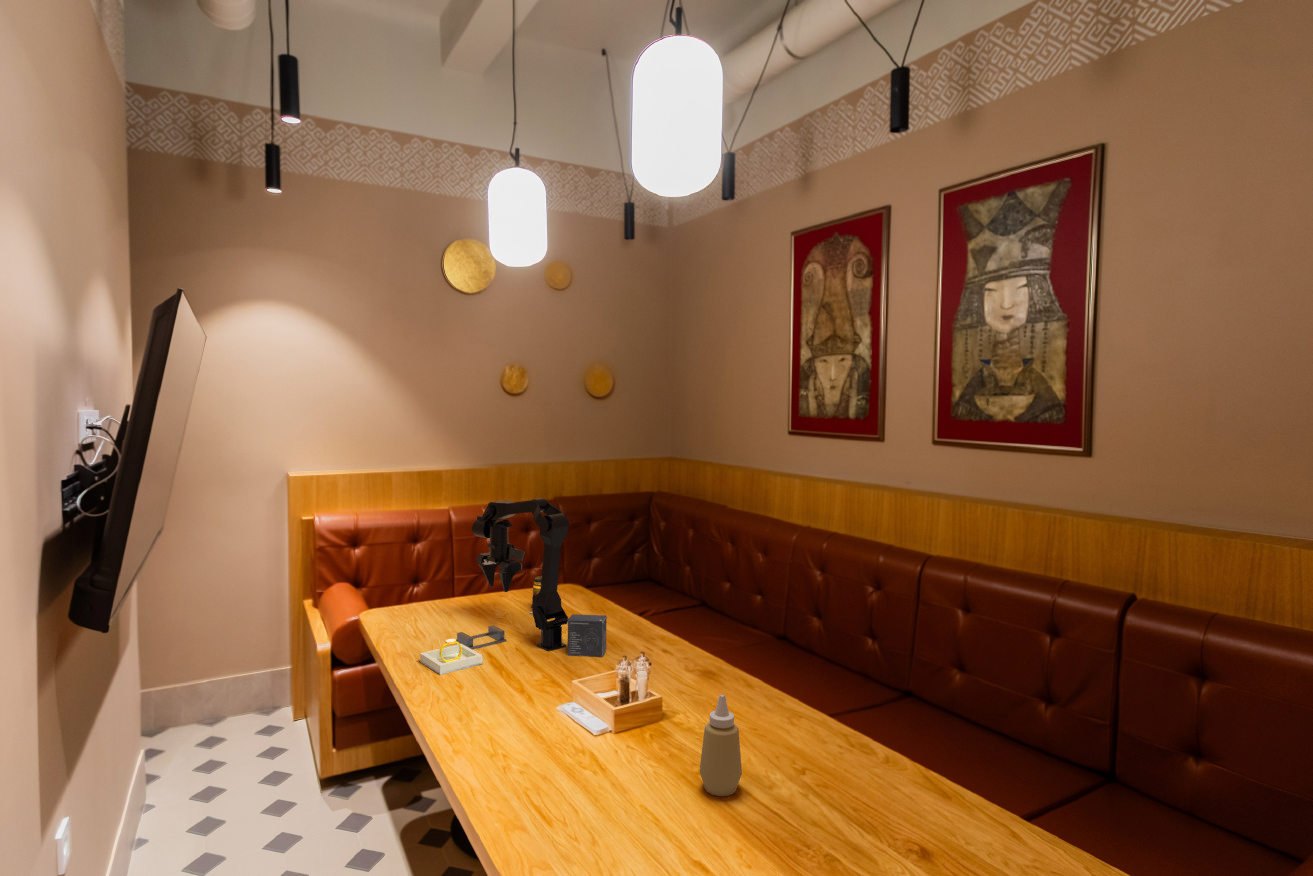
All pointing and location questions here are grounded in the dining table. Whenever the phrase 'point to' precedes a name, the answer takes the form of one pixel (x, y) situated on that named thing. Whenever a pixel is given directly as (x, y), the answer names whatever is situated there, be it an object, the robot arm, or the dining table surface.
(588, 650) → the box
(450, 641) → the watch
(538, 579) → the condiment
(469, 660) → the parts tray
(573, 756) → the dining table surface
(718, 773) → the squeeze bottle
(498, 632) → the grey rectangular open frame
